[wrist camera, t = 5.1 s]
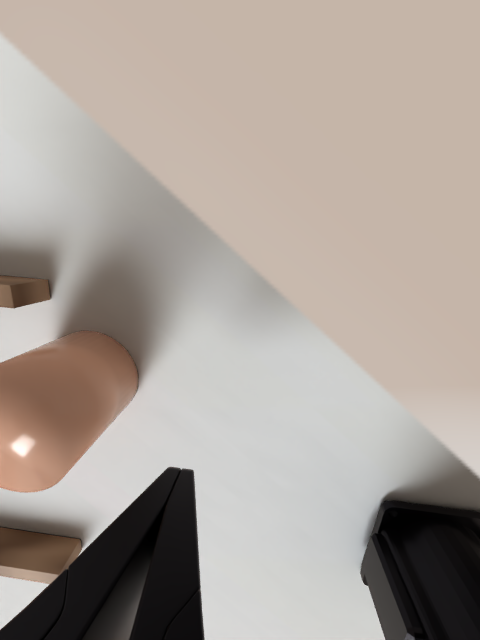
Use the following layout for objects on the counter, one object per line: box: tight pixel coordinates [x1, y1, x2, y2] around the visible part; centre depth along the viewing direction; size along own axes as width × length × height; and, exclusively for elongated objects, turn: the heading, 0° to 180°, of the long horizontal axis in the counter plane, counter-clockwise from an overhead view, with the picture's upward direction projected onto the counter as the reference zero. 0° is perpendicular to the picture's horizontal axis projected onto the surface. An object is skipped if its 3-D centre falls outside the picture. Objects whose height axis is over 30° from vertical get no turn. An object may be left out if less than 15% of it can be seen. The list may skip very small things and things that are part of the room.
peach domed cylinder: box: [0, 331, 138, 492], centre depth 12 cm, size 5×5×5 cm
